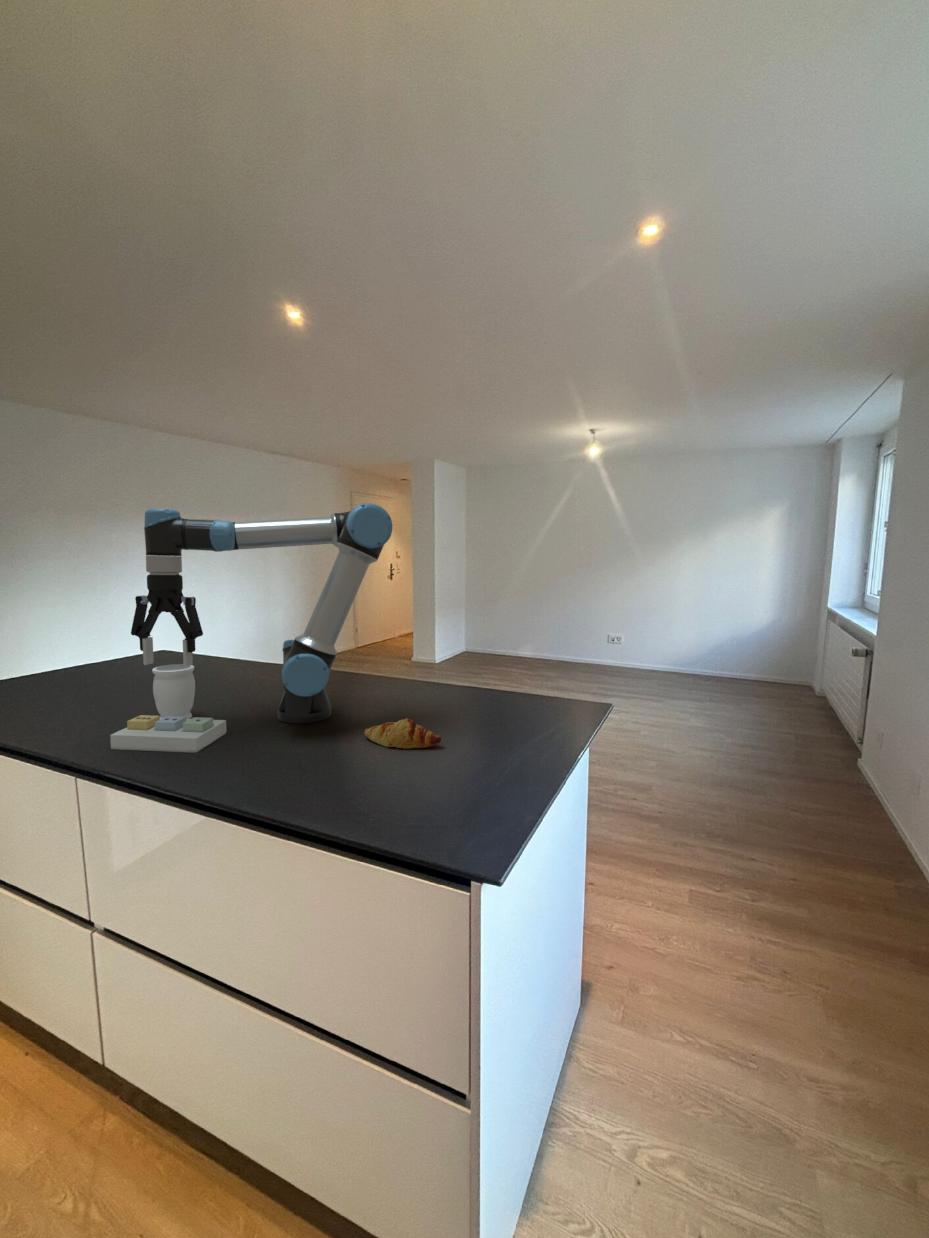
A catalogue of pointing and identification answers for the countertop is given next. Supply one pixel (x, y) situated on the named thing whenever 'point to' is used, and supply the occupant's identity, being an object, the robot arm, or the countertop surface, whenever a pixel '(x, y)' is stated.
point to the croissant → (402, 735)
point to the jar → (174, 690)
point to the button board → (167, 739)
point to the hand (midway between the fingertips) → (168, 664)
